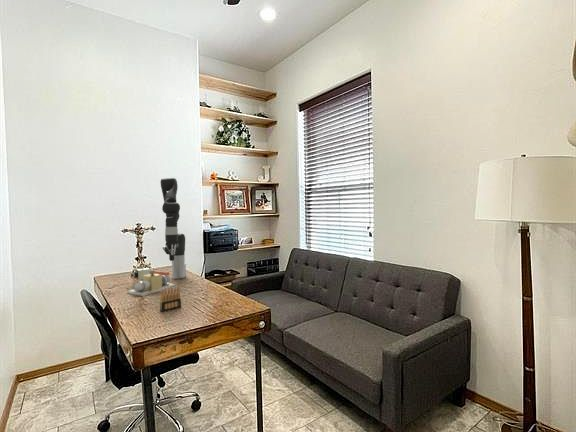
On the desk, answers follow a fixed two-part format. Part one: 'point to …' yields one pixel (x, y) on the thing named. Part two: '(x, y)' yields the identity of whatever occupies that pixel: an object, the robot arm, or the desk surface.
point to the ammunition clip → (170, 299)
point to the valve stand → (151, 284)
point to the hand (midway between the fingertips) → (171, 260)
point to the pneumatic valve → (141, 273)
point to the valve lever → (159, 272)
